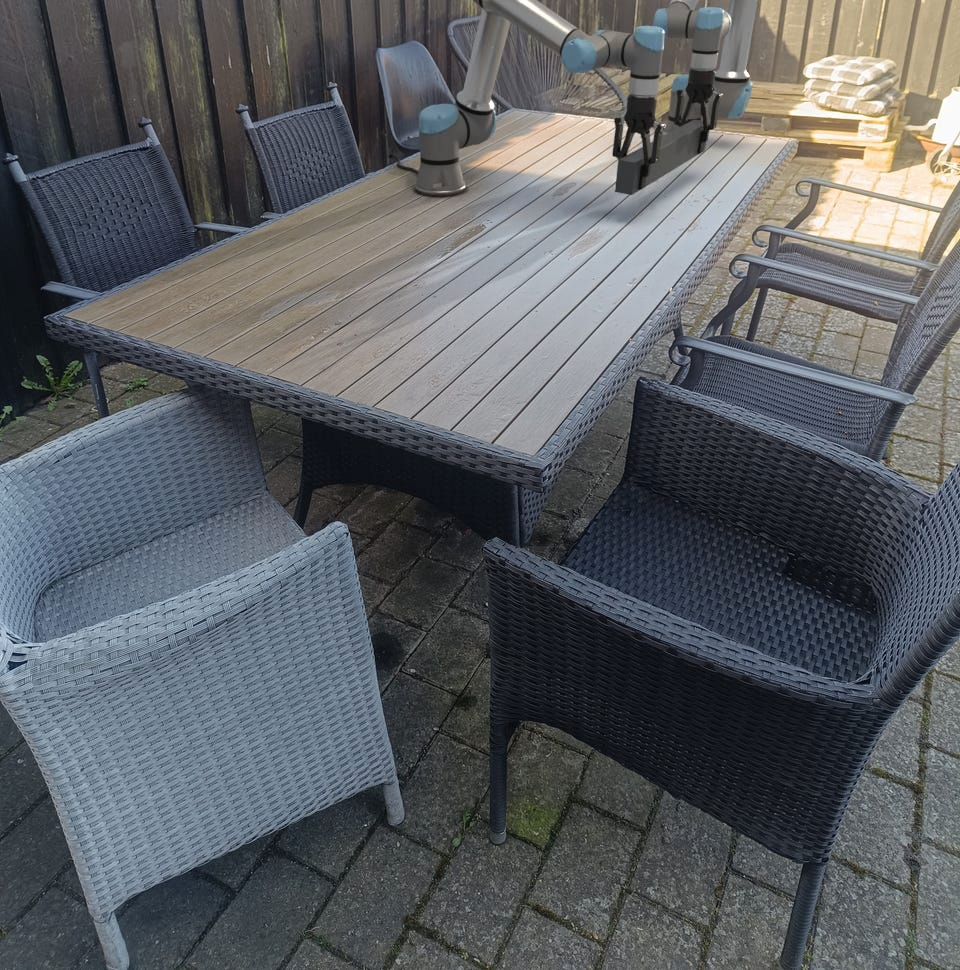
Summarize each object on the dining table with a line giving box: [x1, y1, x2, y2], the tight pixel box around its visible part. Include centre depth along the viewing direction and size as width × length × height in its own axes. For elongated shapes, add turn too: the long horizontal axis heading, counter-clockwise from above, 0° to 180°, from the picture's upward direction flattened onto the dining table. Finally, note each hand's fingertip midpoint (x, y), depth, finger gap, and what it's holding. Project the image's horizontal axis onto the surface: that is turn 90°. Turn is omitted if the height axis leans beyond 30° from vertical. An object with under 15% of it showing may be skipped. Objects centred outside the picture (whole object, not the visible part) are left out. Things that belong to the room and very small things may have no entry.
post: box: [614, 120, 707, 196], centre depth 243 cm, size 54×5×8 cm, turn 147°
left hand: (631, 186), depth 230 cm, fingers closed on post, 5 cm apart
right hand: (691, 151), depth 259 cm, fingers closed on post, 5 cm apart
